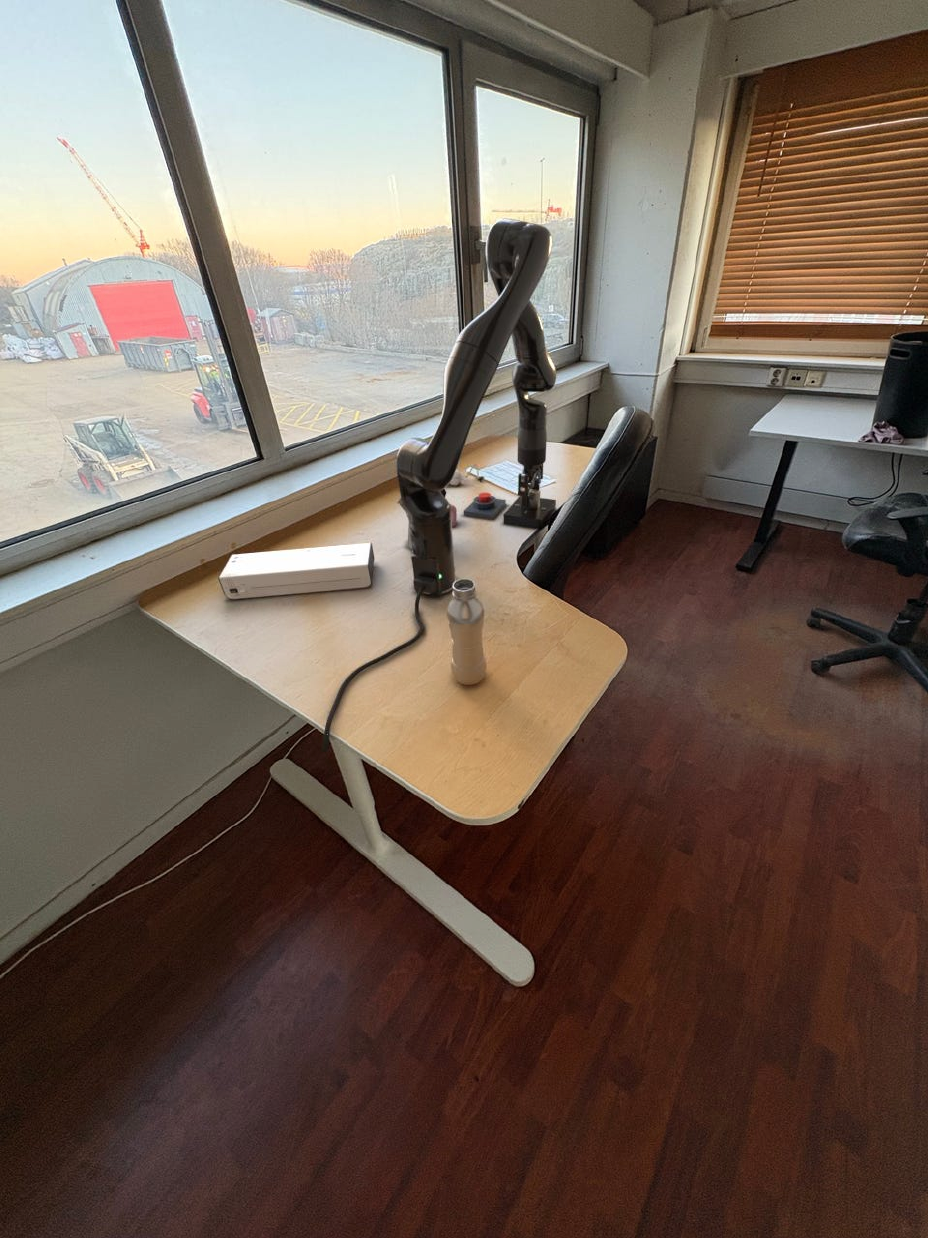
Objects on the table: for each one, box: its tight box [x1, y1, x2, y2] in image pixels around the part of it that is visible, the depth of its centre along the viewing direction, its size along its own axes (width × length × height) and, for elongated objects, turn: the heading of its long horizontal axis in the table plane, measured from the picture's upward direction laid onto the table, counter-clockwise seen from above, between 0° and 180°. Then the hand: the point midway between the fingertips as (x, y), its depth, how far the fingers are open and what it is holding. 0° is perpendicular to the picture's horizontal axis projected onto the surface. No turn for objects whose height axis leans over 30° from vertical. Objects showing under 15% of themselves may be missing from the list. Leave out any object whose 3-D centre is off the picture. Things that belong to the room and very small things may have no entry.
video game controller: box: [449, 502, 458, 528], centre depth 143 cm, size 10×5×7 cm, turn 84°
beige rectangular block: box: [524, 488, 541, 509], centre depth 142 cm, size 5×2×5 cm, turn 65°
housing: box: [463, 495, 507, 521], centre depth 149 cm, size 11×9×4 cm
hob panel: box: [503, 496, 557, 530], centre depth 144 cm, size 14×11×3 cm
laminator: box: [217, 542, 375, 601], centre depth 120 cm, size 34×12×6 cm, turn 95°
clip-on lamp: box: [449, 463, 485, 486], centre depth 169 cm, size 12×6×18 cm
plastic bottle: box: [446, 578, 488, 686], centre depth 86 cm, size 6×7×20 cm
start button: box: [478, 492, 492, 502], centre depth 148 cm, size 4×4×2 cm
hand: (530, 502), depth 142 cm, fingers open, 8 cm apart
